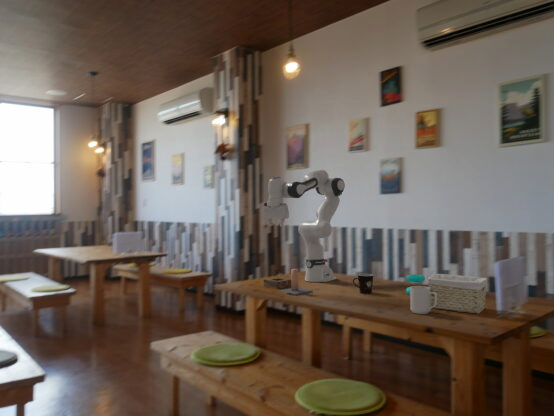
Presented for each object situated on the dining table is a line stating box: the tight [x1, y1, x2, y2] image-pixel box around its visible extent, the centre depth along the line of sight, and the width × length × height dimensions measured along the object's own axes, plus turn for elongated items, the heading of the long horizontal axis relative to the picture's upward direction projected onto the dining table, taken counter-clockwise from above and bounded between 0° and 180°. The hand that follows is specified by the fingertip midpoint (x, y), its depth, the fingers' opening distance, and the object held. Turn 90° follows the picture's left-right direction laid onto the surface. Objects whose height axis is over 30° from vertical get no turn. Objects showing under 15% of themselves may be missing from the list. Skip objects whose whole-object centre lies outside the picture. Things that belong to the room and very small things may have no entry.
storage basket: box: [426, 273, 488, 315], centre depth 211 cm, size 24×16×15 cm
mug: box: [409, 285, 437, 315], centre depth 204 cm, size 12×9×11 cm
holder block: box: [263, 277, 291, 290], centre depth 271 cm, size 12×12×5 cm
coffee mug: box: [352, 273, 374, 295], centre depth 252 cm, size 12×9×10 cm
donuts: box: [405, 273, 426, 295], centre depth 247 cm, size 10×10×10 cm
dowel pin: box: [290, 268, 299, 291], centre depth 257 cm, size 4×4×12 cm
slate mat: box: [277, 287, 313, 297], centre depth 257 cm, size 14×14×1 cm
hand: (276, 226), depth 276 cm, fingers open, 8 cm apart
